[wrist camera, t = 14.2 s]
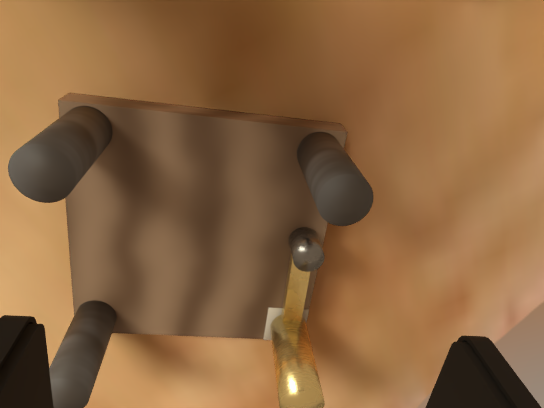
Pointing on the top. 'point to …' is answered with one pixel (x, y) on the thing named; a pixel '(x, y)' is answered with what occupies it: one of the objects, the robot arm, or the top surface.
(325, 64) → the top surface
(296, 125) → the stool seat
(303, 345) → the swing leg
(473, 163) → the top surface
